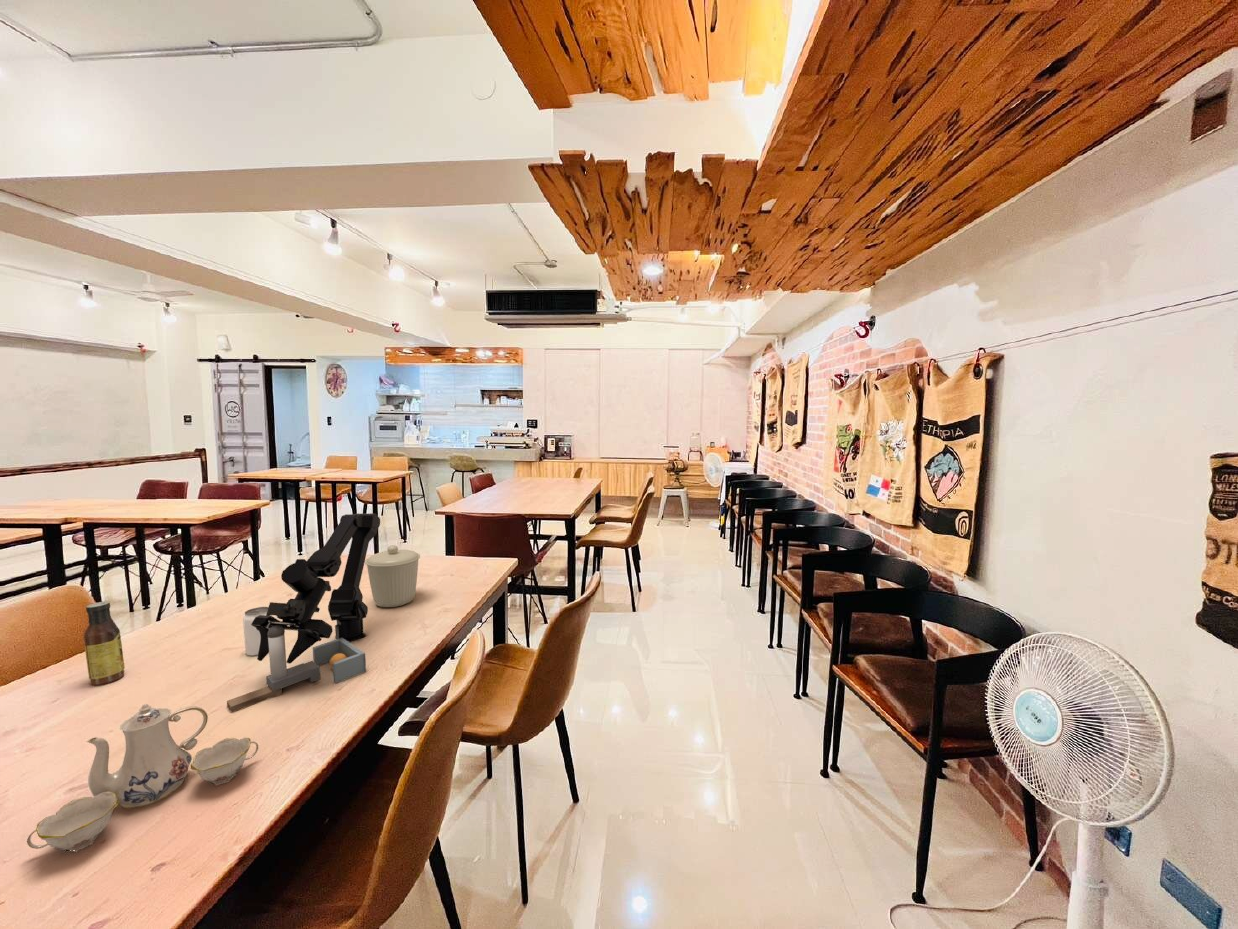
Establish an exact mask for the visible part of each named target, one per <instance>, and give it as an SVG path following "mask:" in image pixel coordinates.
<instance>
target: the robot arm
mask: <svg viewBox="0 0 1238 929" xmlns="http://www.w3.org/2000/svg"><path fill="white" fill-rule="evenodd" d="M339 520H340V521H339V523H338V525H337V527H336V528H335V529H334V531H333V532H332V534H331V535H330V536H329V538H328V540H327V541H326V543H325V544H324V546H323V547H321V548H319V549H318V550H316V551H314V552H313V553H312V554H311V555H310V556H309V557H308V559H305V558H297V559H296V560H295V562H294V563H291V564H290V565H288V566H287V567H286V568H285V569H284V570H282V572H281V581H282V582H283V583H285V585H287V586H288V587H289V588H291V590H293V591H294V592H296V593H297V594H296V595H295V597H294V598H290V599H288V600H287V601H286V603H285V602H274V601H273V602H272V601H271V602H269V605H268V606H267V607H268V610H267V614H266V616H265V615H259V616H257V617H255V619H254V620H253V622H252V624H251V625H252V626H253V627H255V628H256V630H258V631H259V632H260V635H261V640H260V647H259V652H258V655H257V657H256V659H257V661H260V662H262V661H263V660H264V659H265V658H266V657H267V655H268V654H269V642H268V635H267V634H268V631H269V629H270V628H271V627H273V626H276V625H279V626H282V627H283V628H284V630H285V631H294V632H295V631H296V632H297V639H296V641H295V643H294V645H293V647H292V649H291V650H290V653H289V655H288V657H287V658H286V664H291V663H293V662H294V661H295V660H296V659H298V658H299V657H301V655H302V654H303V653H304V652H306V651H307V650H309V649H310V648H311V647H312V646H314V645H315V644H316V643H317V642H321V641H322V638H323V639H330V638H331V636H332V634H333V630H335V639H339V638H344V639H345V640H346V641H348V642H349V643H351V642H353V641H355V640H358V638H359V639H361V638H363V637H366V636H367V634H366V633H365V632H364V619H366V618H367V616H368V612H369V610H368V609H369V607H368V606H367V605H366V603H364V601H363V598H364V595H363V593H362V591H361V589H360V586H361V579H362V575H363V571H364V567H365V566H364V565H365V560H366V559H367V558H366V557H367V553H368V548H369V544H370V541H372V539H373V538H374V537H375V536H376V535H377V533H378V530H379V527H380V526H381V518H380V517H379V516H378V515H377V514H376V513H373V512H371V513H354V514H352V513H350V514H347V513H346V514H344V515H341V517H340V519H339ZM350 541H351V543H350V548H349V549H348V550H349V551H348V555H347V558H346V559H347V560H346V563H345V567H344V572H343V576H342V580H341V583H340V585H339V587H338V588H337V589H336V588H334V589H333V590H332V587H331V585H330V583H331V582H330V580H324V579H323V578H332V577H333V578H334V577H335V576H336V575H337V574H338V572H339V571H340V568H341V566H342V557H341V556H342V554H343V553H344V551H345V549H346V547H347V546H348V544H349V542H350ZM326 592H331V594H330V599H329V602H328V605H327V610H328V613H329V617H330V621H336V624H335V625H334V628H335V629H333V626H332V625H331V624H329V623H327V622H326V621H324V619H318V618H317V619H315V618H313V616H314V614H315V613H319V612H320V610H321V607H320V608H319V605H320V602H321V600H322V599H323V597H324V595H325V593H326ZM270 615H272V616H270ZM274 616H276V617H274Z"/></svg>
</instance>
